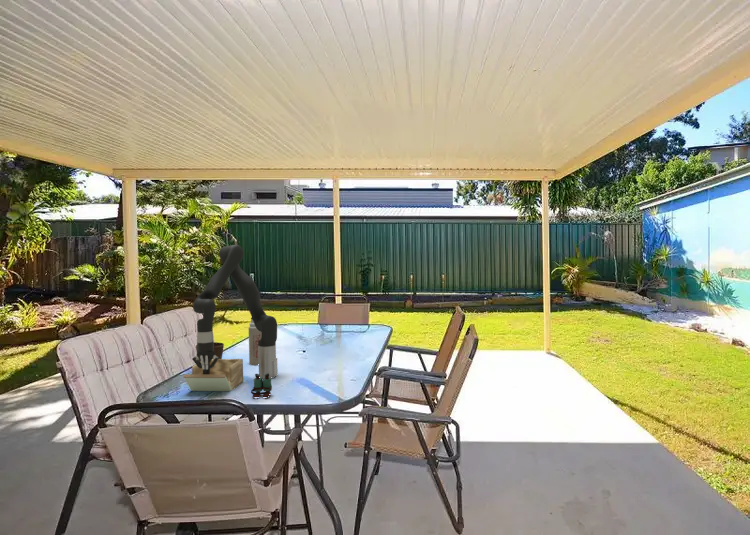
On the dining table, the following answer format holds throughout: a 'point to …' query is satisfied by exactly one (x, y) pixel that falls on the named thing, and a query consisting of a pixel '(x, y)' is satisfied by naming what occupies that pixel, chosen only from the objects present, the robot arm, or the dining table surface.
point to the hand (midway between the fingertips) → (206, 376)
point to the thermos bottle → (253, 343)
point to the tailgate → (207, 382)
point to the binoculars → (262, 386)
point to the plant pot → (217, 349)
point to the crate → (226, 370)
